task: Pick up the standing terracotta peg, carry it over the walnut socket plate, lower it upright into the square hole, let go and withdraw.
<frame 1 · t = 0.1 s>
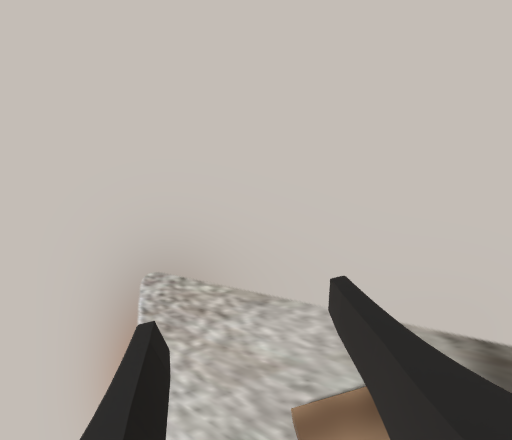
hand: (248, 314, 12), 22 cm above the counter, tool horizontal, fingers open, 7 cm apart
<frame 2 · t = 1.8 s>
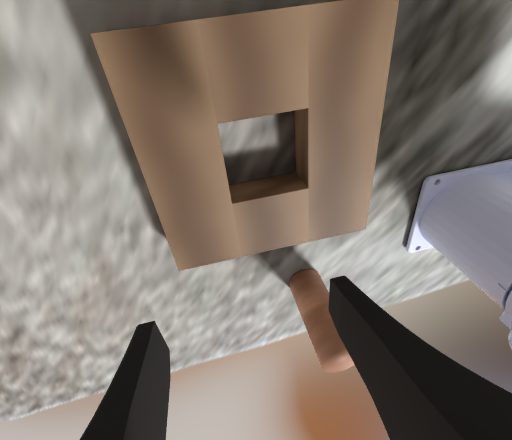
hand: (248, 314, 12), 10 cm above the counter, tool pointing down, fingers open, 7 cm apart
walnut socket plate: (258, 144, 19), on the counter
terracotta peg: (304, 280, 27), on the counter
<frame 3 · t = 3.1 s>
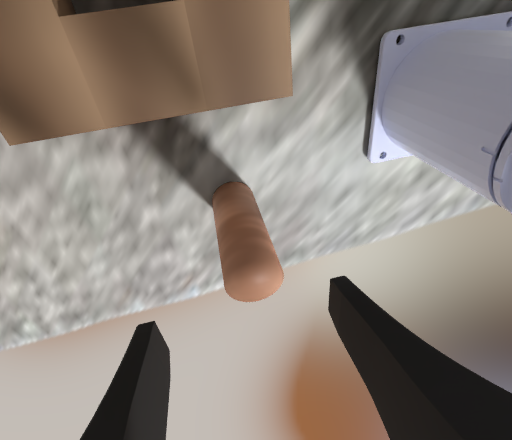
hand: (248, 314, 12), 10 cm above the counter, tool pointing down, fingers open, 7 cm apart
terracotta peg: (233, 200, 21), on the counter
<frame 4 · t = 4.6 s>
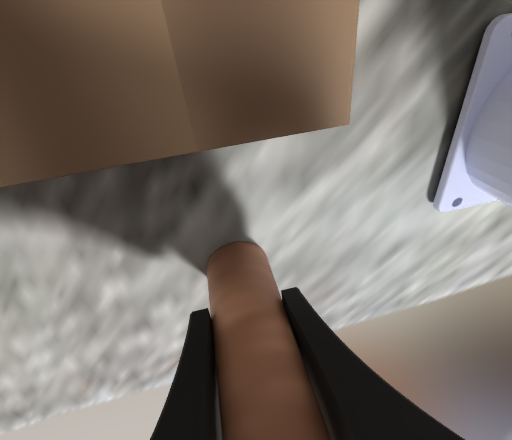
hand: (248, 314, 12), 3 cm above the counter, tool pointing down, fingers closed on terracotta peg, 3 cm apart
terracotta peg: (237, 265, 14), on the counter, touching gripper
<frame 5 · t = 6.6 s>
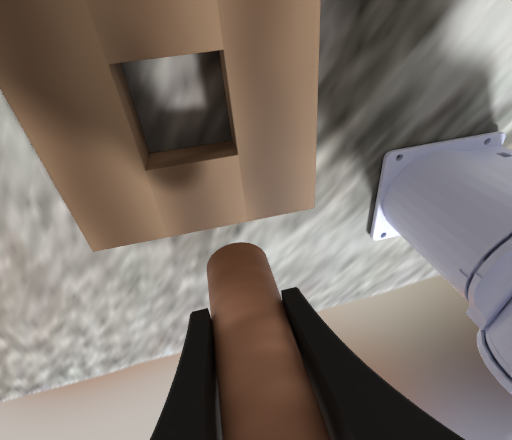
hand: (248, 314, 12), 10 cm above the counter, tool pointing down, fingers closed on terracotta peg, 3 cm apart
walnut socket plate: (181, 103, 16), on the counter
terracotta peg: (237, 266, 14), point 7 cm above the counter, touching gripper
when the fingers open (4 cm above the counter, at t = 8.9 s): terracotta peg stays where it is, resting in walnut socket plate.
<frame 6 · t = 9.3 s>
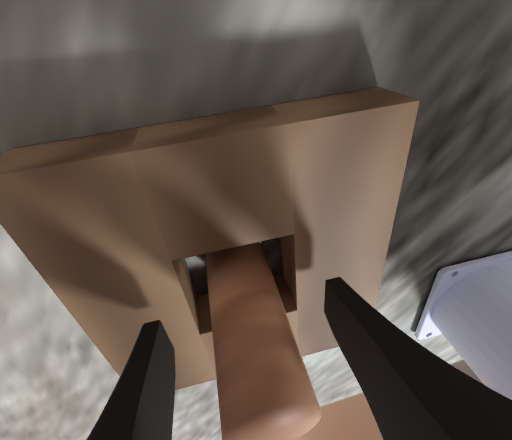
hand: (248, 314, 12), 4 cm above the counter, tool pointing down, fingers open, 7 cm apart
walnut socket plate: (234, 253, 15), on the counter
terracotta peg: (234, 253, 15), resting in walnut socket plate
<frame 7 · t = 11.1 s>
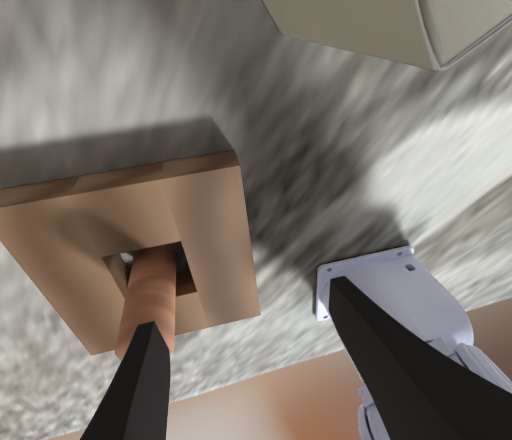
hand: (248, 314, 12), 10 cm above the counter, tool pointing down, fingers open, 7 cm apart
walnut socket plate: (156, 252, 22), on the counter
terracotta peg: (156, 252, 22), resting in walnut socket plate
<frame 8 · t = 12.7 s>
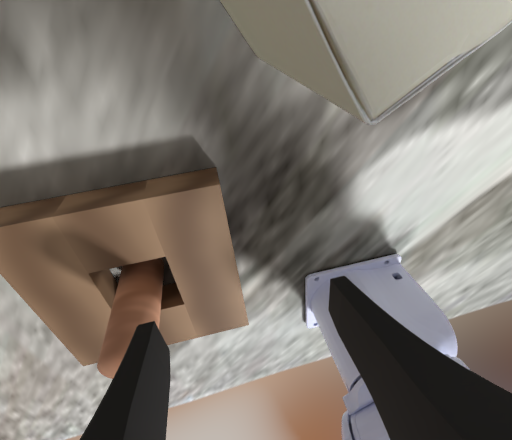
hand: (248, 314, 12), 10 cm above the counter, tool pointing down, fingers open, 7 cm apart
walnut socket plate: (144, 266, 22), on the counter
terracotta peg: (144, 266, 22), resting in walnut socket plate
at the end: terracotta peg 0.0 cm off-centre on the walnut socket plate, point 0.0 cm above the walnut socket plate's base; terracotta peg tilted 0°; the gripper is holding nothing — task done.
